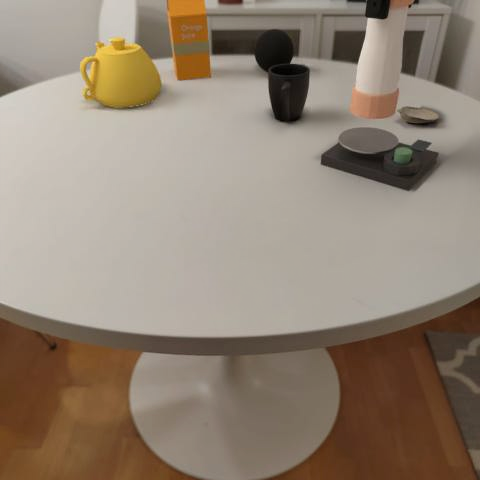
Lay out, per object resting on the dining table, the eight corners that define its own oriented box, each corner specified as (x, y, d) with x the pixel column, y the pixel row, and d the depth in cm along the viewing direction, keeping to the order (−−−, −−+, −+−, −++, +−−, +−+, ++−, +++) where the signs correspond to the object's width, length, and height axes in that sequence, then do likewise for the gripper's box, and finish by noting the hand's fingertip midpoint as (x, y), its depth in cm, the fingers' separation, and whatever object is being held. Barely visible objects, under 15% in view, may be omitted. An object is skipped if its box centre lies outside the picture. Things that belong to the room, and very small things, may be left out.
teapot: (176, 98, 107) (168, 38, 99) (101, 119, 99) (86, 55, 90) (136, 78, 119) (126, 23, 111) (67, 95, 111) (51, 37, 103)
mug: (262, 131, 91) (262, 81, 85) (271, 109, 100) (271, 62, 94) (303, 133, 90) (306, 83, 84) (308, 110, 99) (311, 63, 92)
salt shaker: (403, 108, 75) (431, -32, 62) (382, 122, 71) (408, -25, 58) (363, 99, 79) (382, -35, 66) (341, 112, 75) (357, -29, 62)
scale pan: (431, 143, 77) (432, 141, 76) (407, 166, 71) (407, 164, 71) (355, 125, 84) (355, 122, 83) (327, 144, 78) (327, 142, 78)
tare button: (412, 160, 73) (415, 149, 72) (406, 166, 72) (408, 155, 71) (397, 155, 75) (399, 145, 73) (390, 161, 73) (392, 151, 72)
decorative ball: (295, 67, 122) (297, 25, 116) (289, 79, 115) (291, 35, 108) (258, 66, 124) (258, 24, 117) (251, 77, 117) (250, 34, 110)
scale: (436, 162, 79) (441, 143, 77) (407, 191, 72) (412, 171, 70) (353, 140, 87) (355, 122, 84) (320, 164, 80) (322, 145, 77)
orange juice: (211, 77, 118) (204, -15, 105) (177, 80, 117) (166, -12, 104) (206, 68, 124) (199, -20, 110) (174, 71, 123) (163, -17, 109)
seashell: (439, 133, 92) (421, 110, 96) (447, 120, 90) (428, 97, 94) (404, 132, 89) (387, 109, 94) (412, 119, 87) (394, 95, 91)
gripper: (417, -165, 47) (386, 28, 59) (473, -160, 57) (436, 4, 69) (351, -159, 51) (334, 22, 62) (415, -156, 61) (390, 0, 72)
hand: (388, 11), depth 65 cm, fingers closed on salt shaker, 7 cm apart
